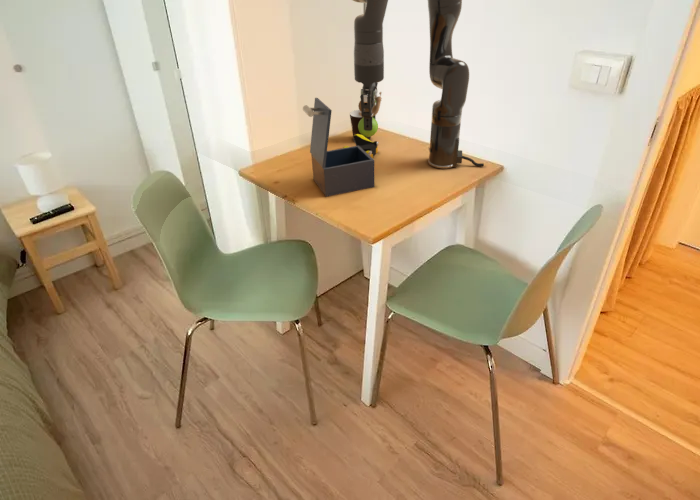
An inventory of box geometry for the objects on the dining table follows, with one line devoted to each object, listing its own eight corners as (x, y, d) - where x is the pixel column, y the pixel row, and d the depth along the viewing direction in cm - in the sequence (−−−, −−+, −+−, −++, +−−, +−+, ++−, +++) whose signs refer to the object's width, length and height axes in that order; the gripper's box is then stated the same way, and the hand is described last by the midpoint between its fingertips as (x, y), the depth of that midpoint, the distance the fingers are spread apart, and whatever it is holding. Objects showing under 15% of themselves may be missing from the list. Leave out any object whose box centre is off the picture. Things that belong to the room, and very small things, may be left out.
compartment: (359, 171, 153) (358, 145, 148) (374, 187, 143) (374, 160, 138) (313, 179, 149) (311, 153, 144) (325, 197, 139) (324, 169, 134)
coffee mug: (355, 134, 181) (354, 108, 175) (376, 136, 178) (376, 110, 172) (343, 145, 172) (342, 118, 166) (365, 147, 169) (365, 120, 163)
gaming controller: (341, 162, 159) (369, 166, 156) (340, 147, 156) (368, 150, 153) (355, 146, 170) (381, 149, 167) (354, 132, 167) (381, 134, 164)
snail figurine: (380, 140, 125) (380, 95, 119) (357, 139, 126) (355, 94, 120) (382, 132, 130) (382, 89, 123) (360, 132, 131) (358, 88, 124)
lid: (317, 97, 135) (299, 96, 133) (331, 110, 125) (312, 109, 123) (312, 152, 143) (295, 152, 141) (325, 168, 133) (307, 168, 131)
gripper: (380, 67, 110) (380, 136, 120) (387, 54, 122) (386, 117, 132) (349, 67, 112) (351, 135, 121) (358, 54, 123) (360, 117, 133)
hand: (369, 125), depth 126 cm, fingers closed on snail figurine, 5 cm apart
